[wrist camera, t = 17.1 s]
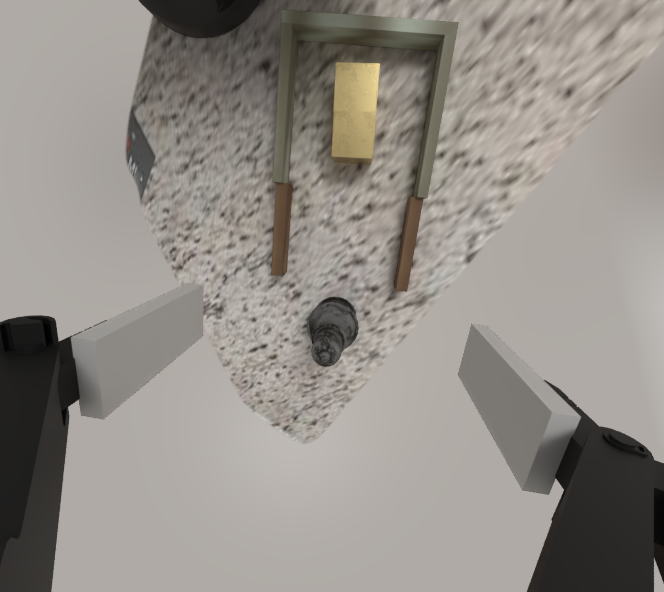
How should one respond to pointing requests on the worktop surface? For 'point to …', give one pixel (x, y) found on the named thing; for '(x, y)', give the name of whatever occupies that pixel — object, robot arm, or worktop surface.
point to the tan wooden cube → (353, 137)
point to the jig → (367, 34)
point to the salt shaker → (331, 329)
